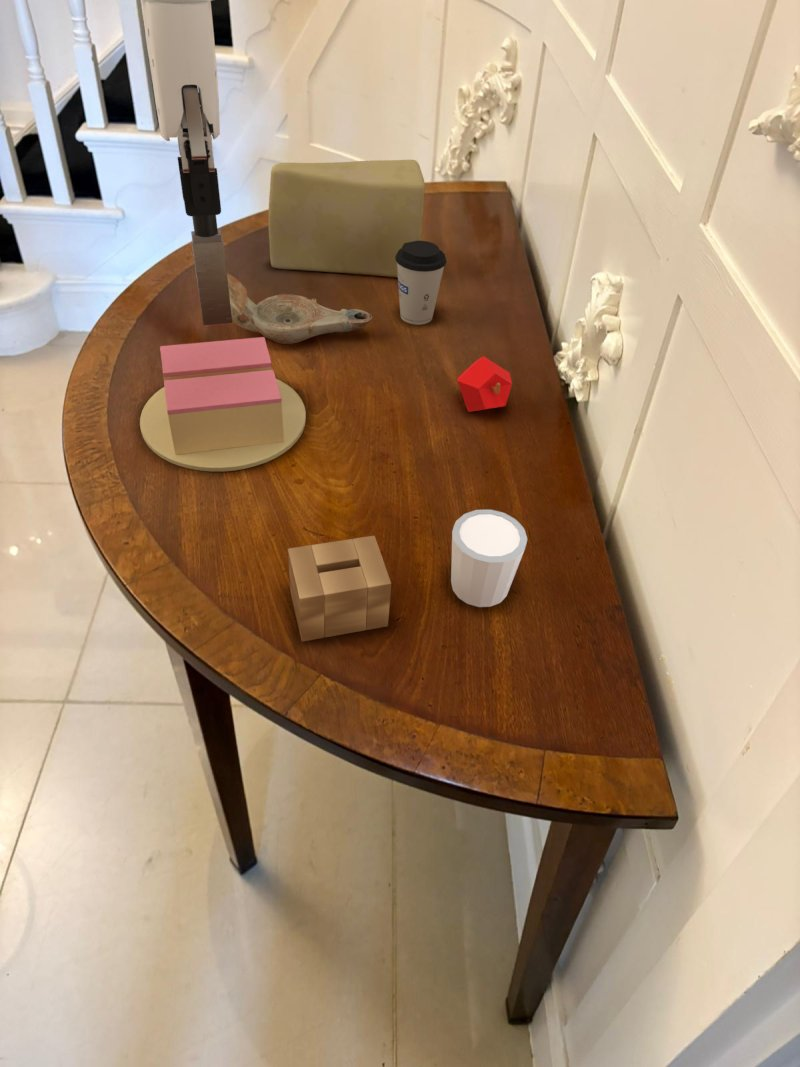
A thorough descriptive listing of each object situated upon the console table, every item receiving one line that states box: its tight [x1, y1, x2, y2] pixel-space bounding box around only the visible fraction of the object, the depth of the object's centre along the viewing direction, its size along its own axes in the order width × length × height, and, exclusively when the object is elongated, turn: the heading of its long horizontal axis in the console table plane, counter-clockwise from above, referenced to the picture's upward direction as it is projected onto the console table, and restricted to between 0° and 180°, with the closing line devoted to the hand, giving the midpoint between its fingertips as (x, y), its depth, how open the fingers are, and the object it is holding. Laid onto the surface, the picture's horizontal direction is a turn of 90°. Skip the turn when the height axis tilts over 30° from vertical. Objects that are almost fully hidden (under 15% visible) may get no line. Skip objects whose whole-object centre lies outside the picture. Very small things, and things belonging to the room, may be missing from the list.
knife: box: [186, 144, 233, 327], centre depth 76 cm, size 3×2×18 cm
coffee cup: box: [395, 240, 447, 326], centre depth 108 cm, size 7×7×10 cm
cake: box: [139, 336, 307, 473], centre depth 90 cm, size 19×19×7 cm
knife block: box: [287, 535, 392, 643], centre depth 71 cm, size 8×6×6 cm
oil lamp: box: [227, 272, 373, 345], centre depth 103 cm, size 9×21×10 cm, turn 94°
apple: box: [456, 355, 513, 413], centre depth 95 cm, size 7×7×8 cm
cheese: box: [268, 159, 426, 279], centre depth 115 cm, size 22×10×15 cm, turn 96°
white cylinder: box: [450, 509, 528, 608], centre depth 74 cm, size 7×7×7 cm
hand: (202, 205), depth 74 cm, fingers closed on knife, 2 cm apart
